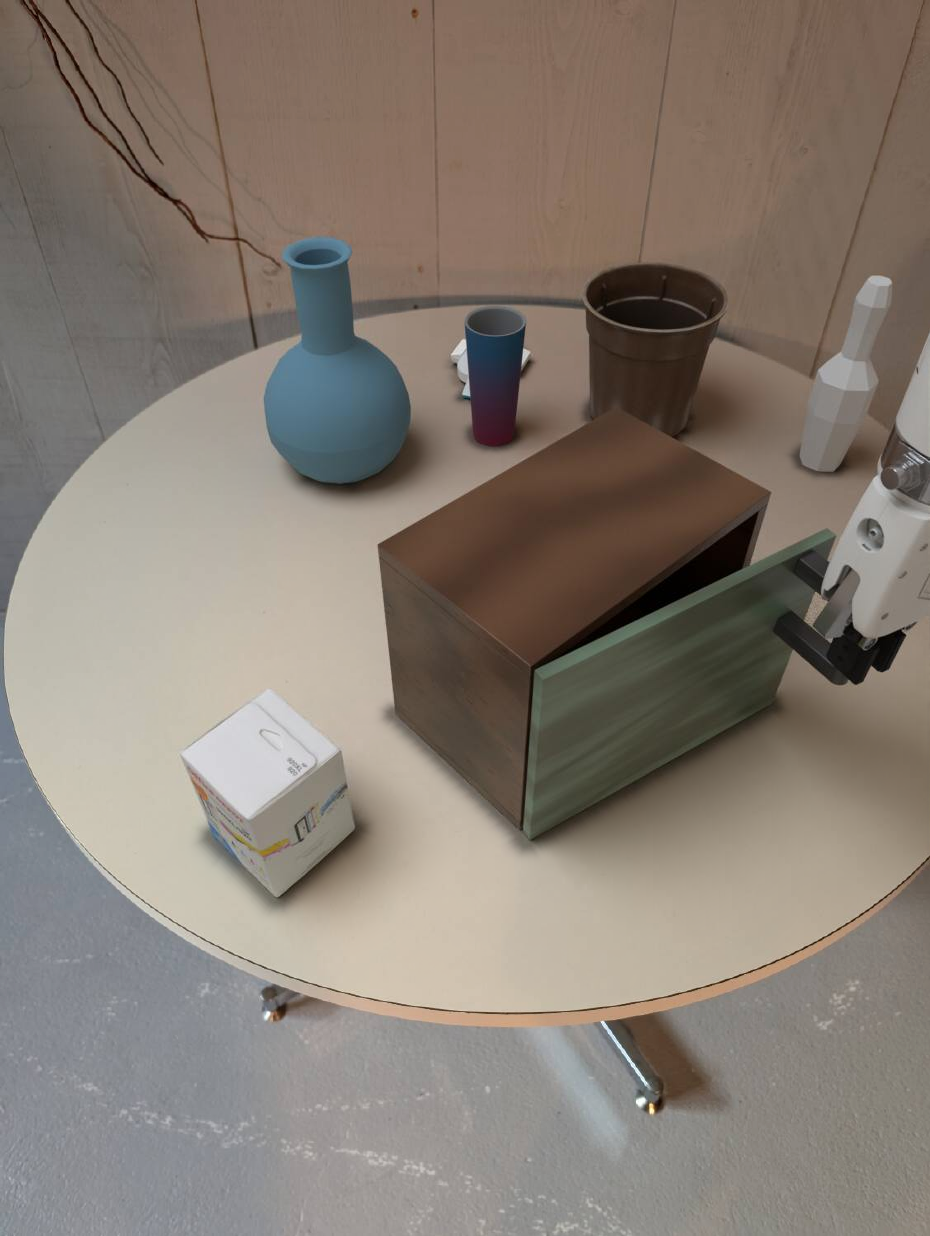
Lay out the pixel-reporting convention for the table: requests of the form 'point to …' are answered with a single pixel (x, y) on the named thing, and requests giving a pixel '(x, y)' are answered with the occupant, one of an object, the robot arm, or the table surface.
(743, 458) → the table surface
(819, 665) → the cupboard door
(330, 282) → the vase
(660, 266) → the plant pot
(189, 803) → the table surface
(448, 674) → the cupboard
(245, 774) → the ink box
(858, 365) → the low poly bottle
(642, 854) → the table surface
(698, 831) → the table surface
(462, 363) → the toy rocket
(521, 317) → the cup
